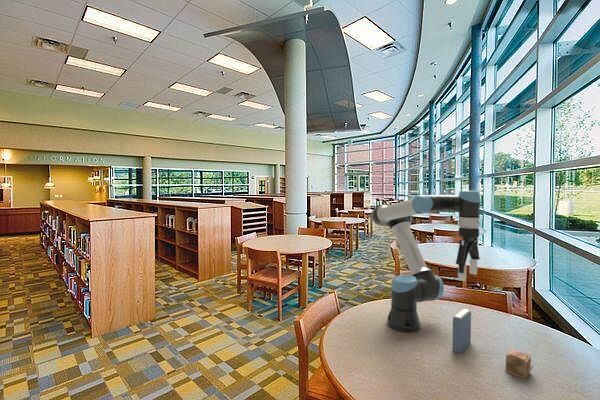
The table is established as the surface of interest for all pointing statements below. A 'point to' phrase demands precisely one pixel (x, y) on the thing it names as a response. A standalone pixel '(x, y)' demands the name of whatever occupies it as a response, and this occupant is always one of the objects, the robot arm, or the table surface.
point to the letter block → (518, 363)
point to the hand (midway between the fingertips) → (467, 277)
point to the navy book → (461, 330)
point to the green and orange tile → (514, 374)
